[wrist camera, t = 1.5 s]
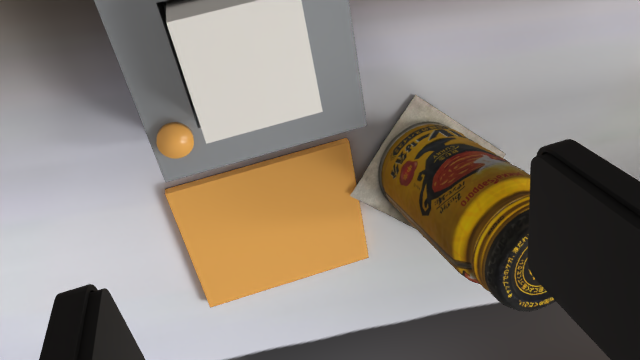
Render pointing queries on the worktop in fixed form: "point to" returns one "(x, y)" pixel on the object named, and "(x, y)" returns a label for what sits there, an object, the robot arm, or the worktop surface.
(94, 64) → the worktop surface
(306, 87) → the button
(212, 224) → the lockout pad
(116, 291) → the worktop surface
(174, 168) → the box
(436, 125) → the condiment
